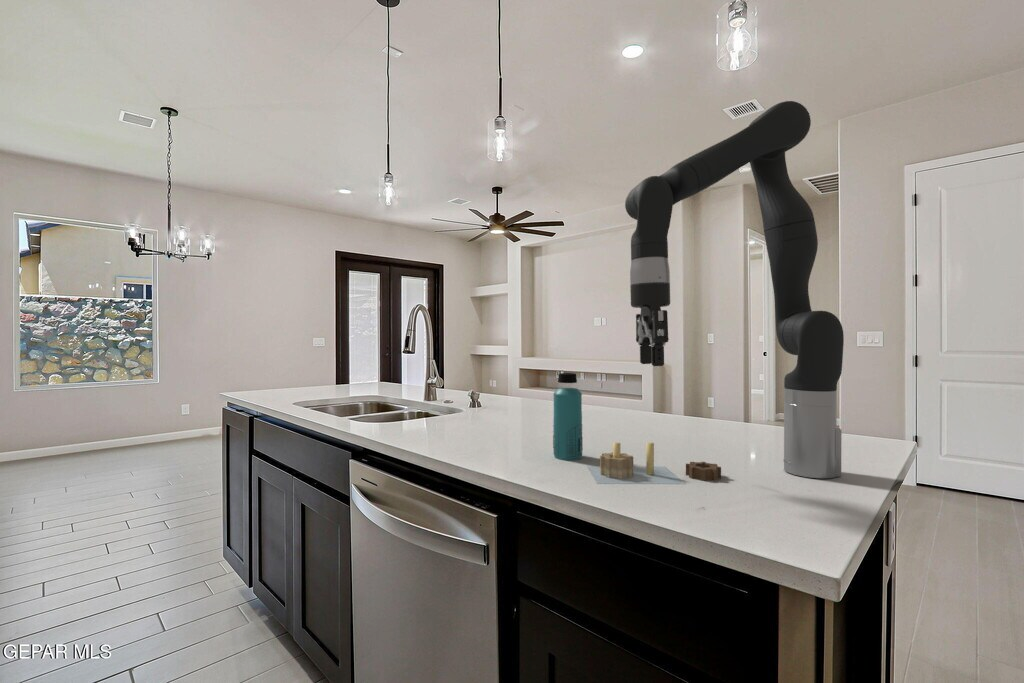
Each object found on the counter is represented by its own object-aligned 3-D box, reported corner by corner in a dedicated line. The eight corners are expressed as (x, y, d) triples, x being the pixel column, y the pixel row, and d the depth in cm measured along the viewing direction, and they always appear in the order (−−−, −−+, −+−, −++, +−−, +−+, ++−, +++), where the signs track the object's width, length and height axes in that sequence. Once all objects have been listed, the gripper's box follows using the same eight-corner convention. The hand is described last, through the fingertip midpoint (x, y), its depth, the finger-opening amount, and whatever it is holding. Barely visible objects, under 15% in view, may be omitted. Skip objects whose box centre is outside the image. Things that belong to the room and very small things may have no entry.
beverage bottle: (581, 468, 103) (582, 374, 103) (550, 466, 105) (551, 373, 104) (583, 460, 110) (583, 372, 110) (554, 459, 111) (554, 371, 111)
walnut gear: (712, 479, 95) (712, 461, 95) (726, 489, 89) (726, 469, 89) (681, 479, 95) (681, 461, 95) (693, 488, 89) (693, 469, 89)
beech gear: (620, 468, 97) (620, 451, 97) (639, 476, 91) (639, 458, 91) (594, 471, 95) (594, 453, 95) (612, 480, 89) (612, 461, 89)
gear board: (665, 473, 99) (665, 437, 99) (686, 492, 87) (686, 450, 87) (586, 473, 99) (586, 436, 99) (596, 491, 87) (597, 450, 87)
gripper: (681, 277, 89) (682, 366, 89) (658, 286, 103) (660, 362, 103) (639, 278, 89) (641, 367, 89) (623, 287, 103) (624, 363, 103)
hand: (651, 364), depth 96 cm, fingers open, 8 cm apart
